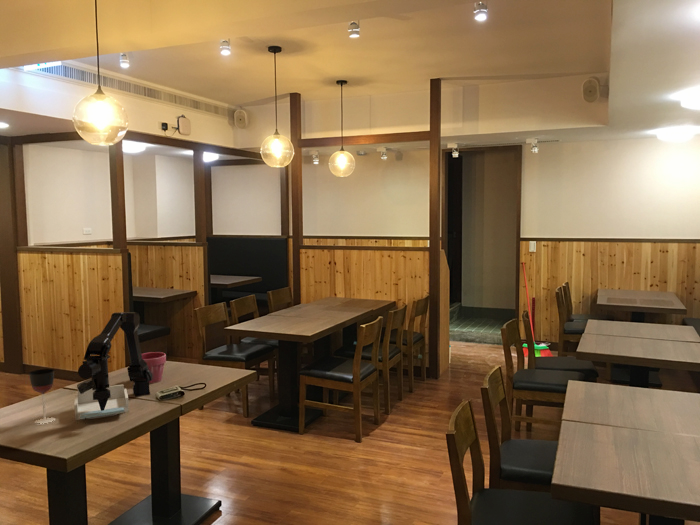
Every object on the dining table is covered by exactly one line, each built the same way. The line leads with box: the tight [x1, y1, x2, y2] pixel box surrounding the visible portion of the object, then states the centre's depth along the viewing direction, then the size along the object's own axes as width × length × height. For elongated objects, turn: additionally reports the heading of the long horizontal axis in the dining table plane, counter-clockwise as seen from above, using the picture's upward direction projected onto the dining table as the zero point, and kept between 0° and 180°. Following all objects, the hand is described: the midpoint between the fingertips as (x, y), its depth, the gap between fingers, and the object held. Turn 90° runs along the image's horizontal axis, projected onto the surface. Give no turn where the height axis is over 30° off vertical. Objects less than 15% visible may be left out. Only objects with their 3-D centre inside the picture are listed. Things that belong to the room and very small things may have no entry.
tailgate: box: [79, 407, 126, 420], centre depth 224 cm, size 16×2×8 cm
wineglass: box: [28, 368, 56, 425], centre depth 223 cm, size 8×9×20 cm
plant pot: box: [141, 351, 167, 384], centre depth 275 cm, size 14×14×13 cm
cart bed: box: [73, 384, 130, 421], centre depth 234 cm, size 20×14×8 cm
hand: (102, 410), depth 223 cm, fingers closed
